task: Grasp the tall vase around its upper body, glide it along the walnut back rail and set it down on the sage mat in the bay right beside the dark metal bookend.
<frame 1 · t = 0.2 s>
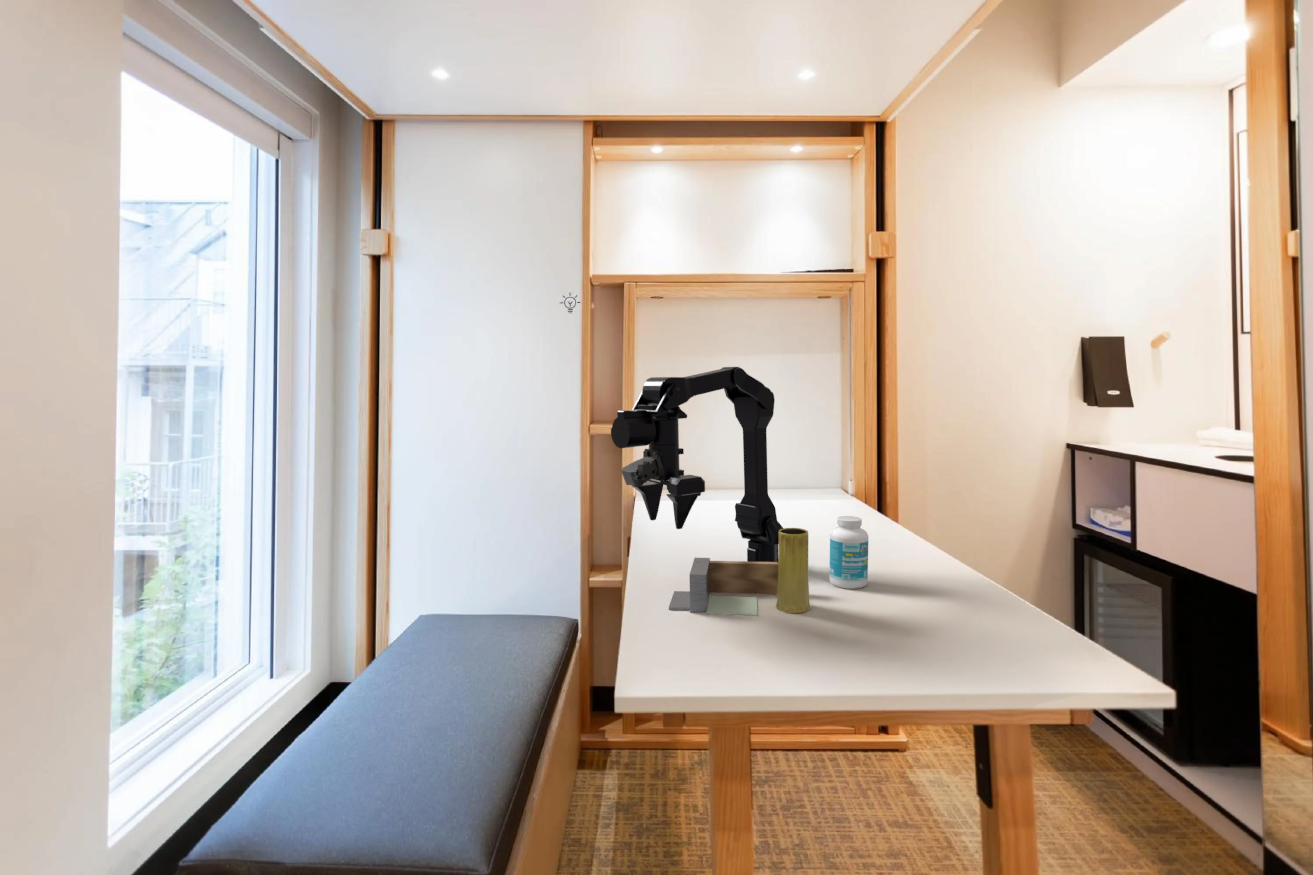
hand: (665, 524, 128), 14 cm above the table, fingers open, 9 cm apart
pill bottle: (848, 585, 134), on the table
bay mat: (732, 605, 123), on the table
bookend: (700, 602, 125), on the table
back rail: (747, 592, 130), on the table
vase: (793, 608, 121), on the table
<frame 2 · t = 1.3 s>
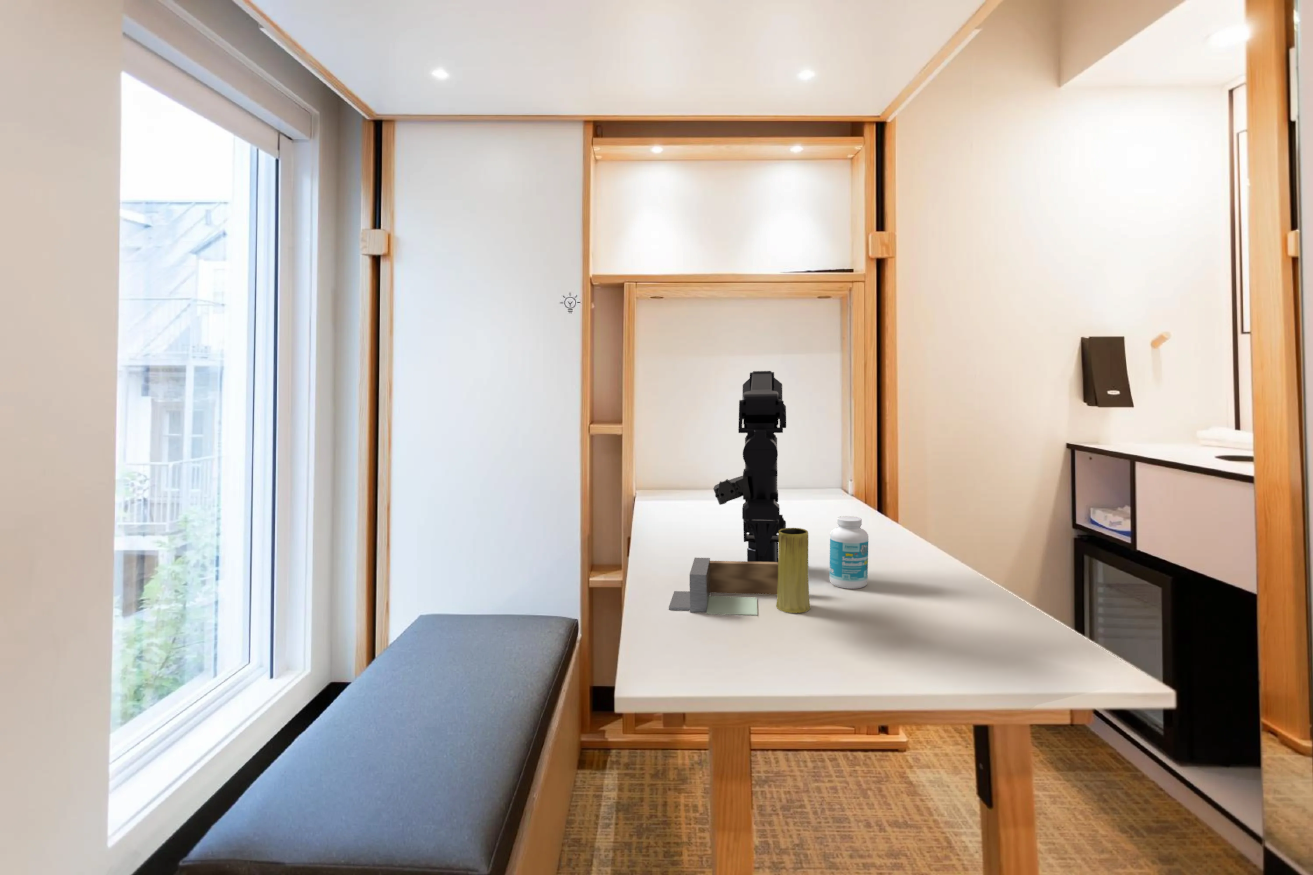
hand: (761, 548, 121), 11 cm above the table, fingers open, 9 cm apart
nothing on the table moved.
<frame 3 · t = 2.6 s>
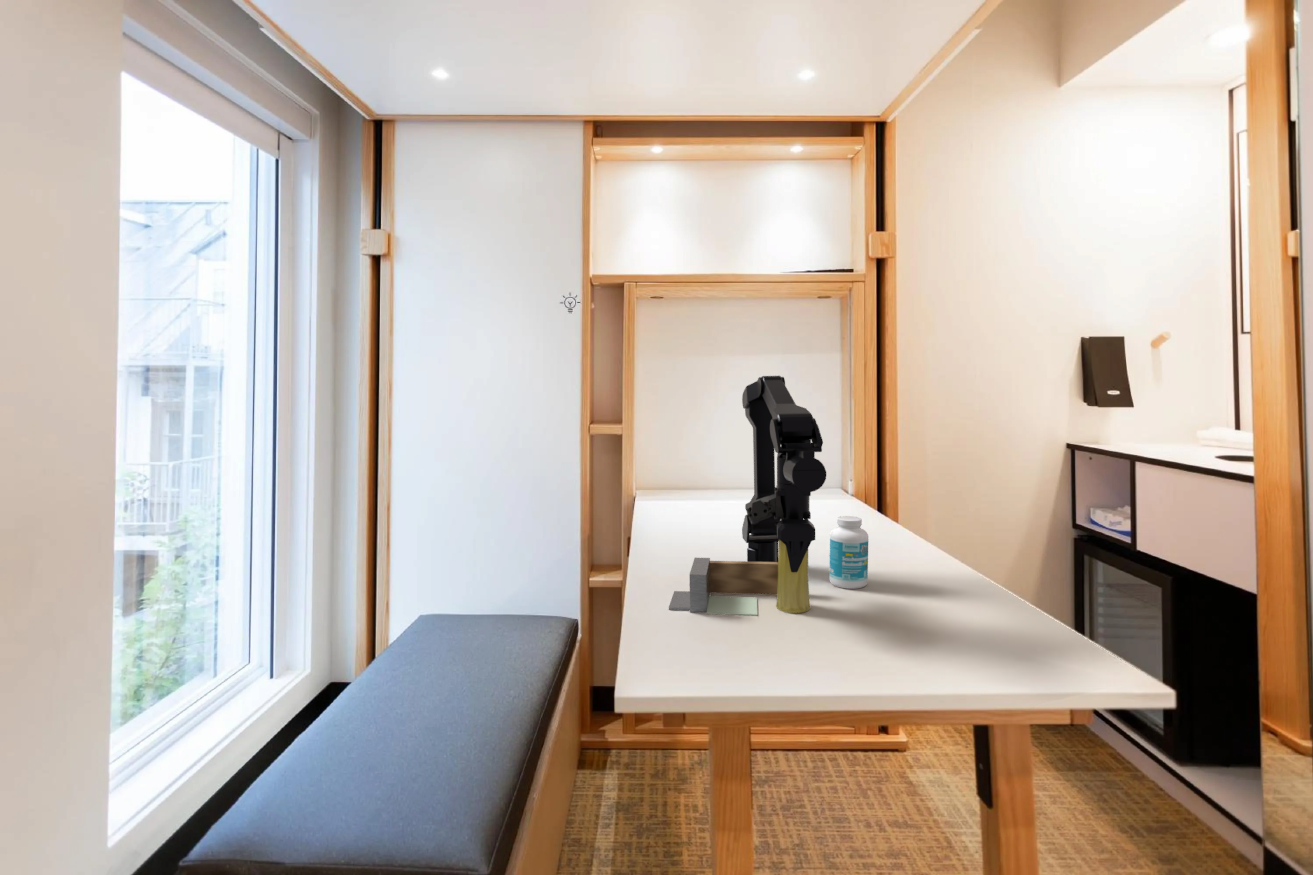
hand: (793, 567, 121), 8 cm above the table, fingers closed on vase, 5 cm apart
vase: (793, 608, 121), on the table, touching gripper
everything else where it was.
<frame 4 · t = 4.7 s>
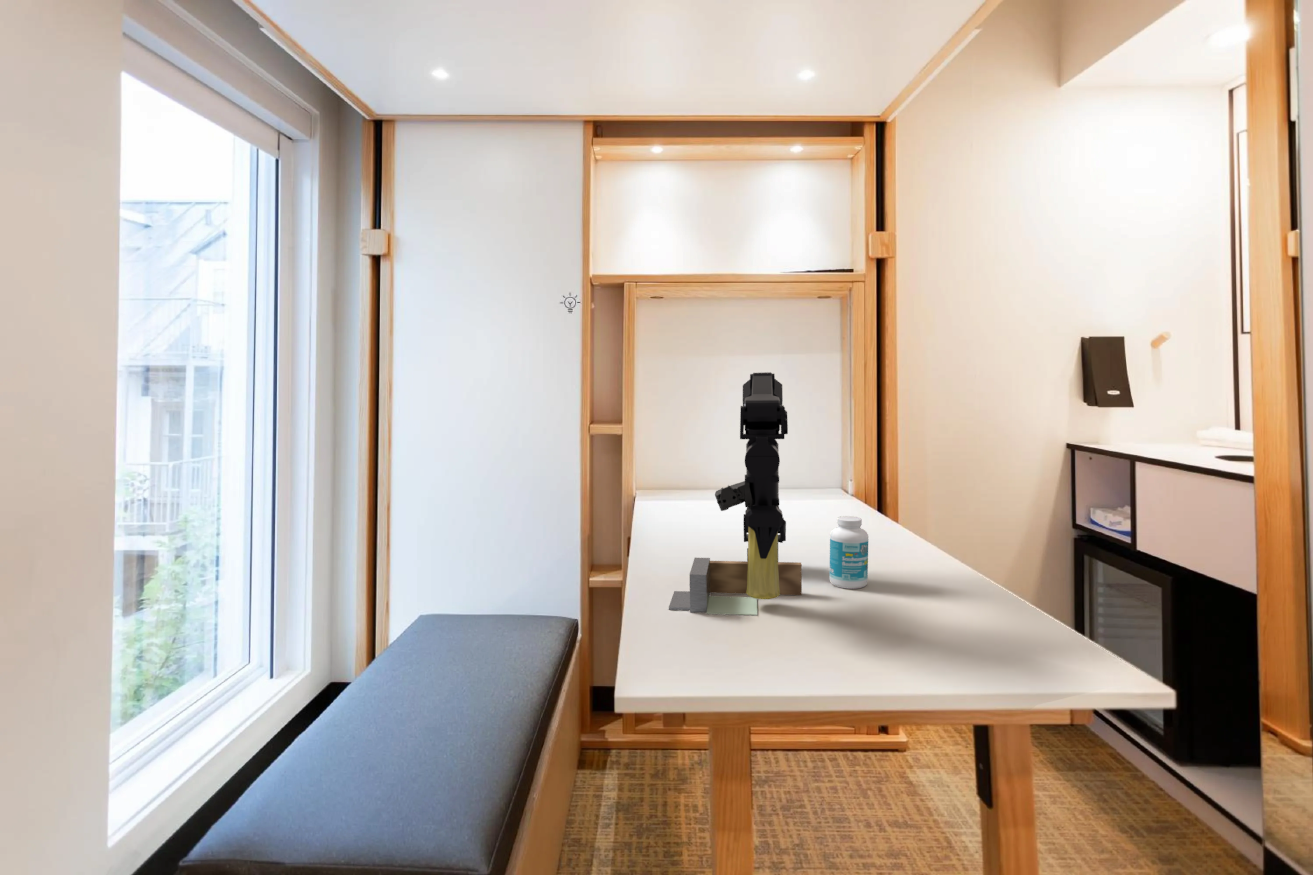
hand: (762, 553, 121), 10 cm above the table, fingers closed on vase, 5 cm apart
vase: (763, 595, 122), point 2 cm above the table, touching gripper
everything else where it was.
when the fingers open (8 cm above the table, at t = 6.5 s): vase stays where it is, resting on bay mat.
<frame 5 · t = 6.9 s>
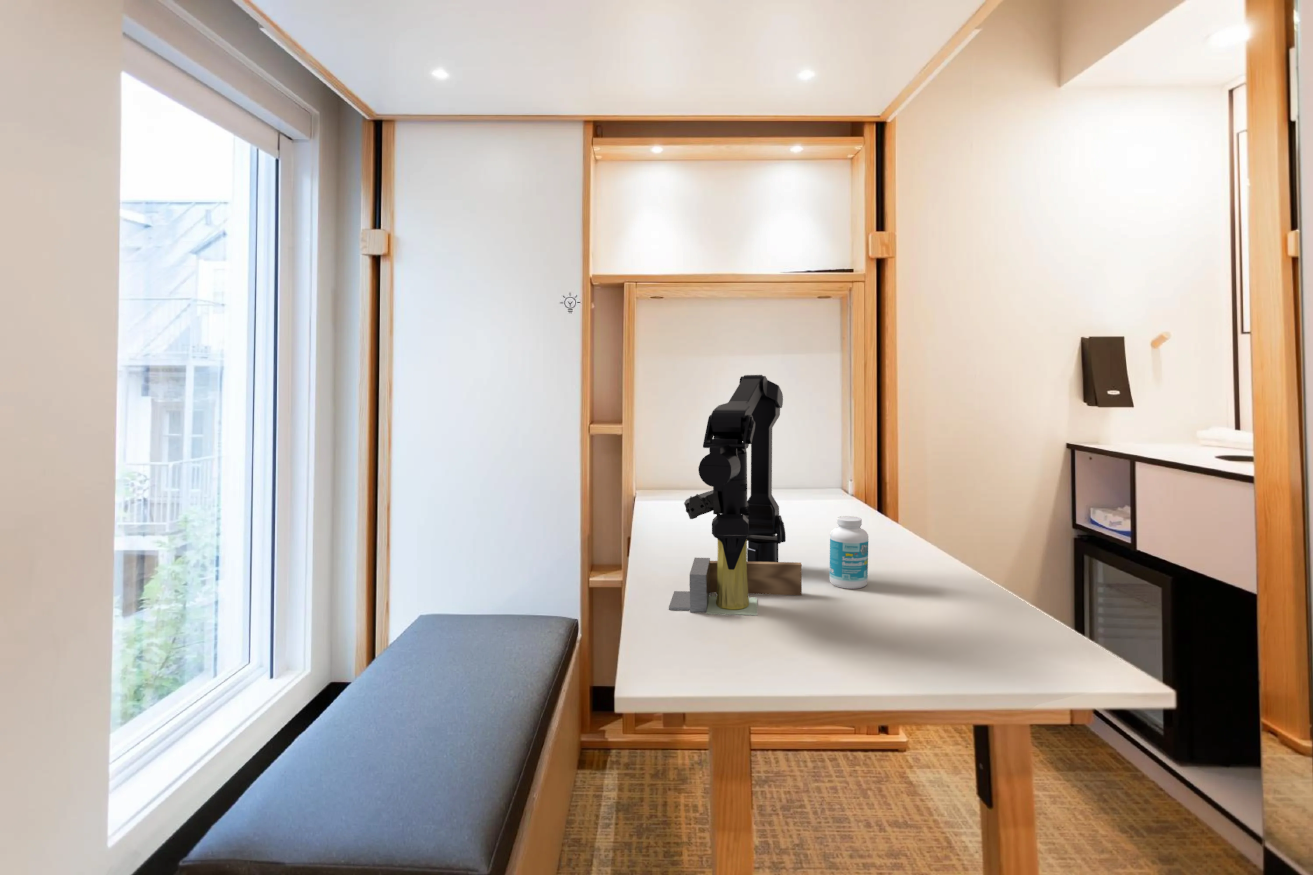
hand: (732, 561, 122), 8 cm above the table, fingers open, 9 cm apart
vase: (732, 605, 123), resting on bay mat
everything else where it was.
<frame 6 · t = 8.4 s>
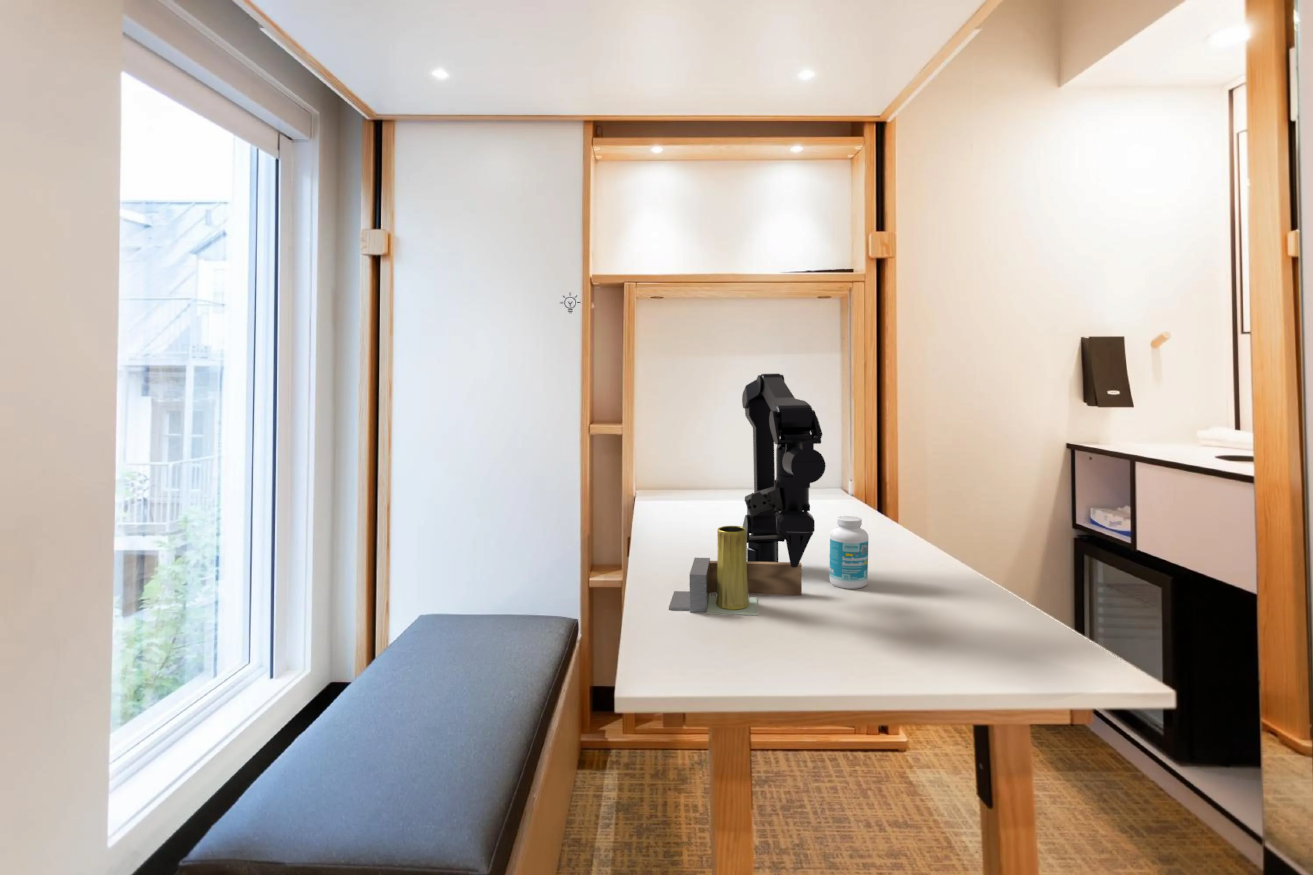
hand: (792, 559, 120), 9 cm above the table, fingers open, 9 cm apart
nothing on the table moved.
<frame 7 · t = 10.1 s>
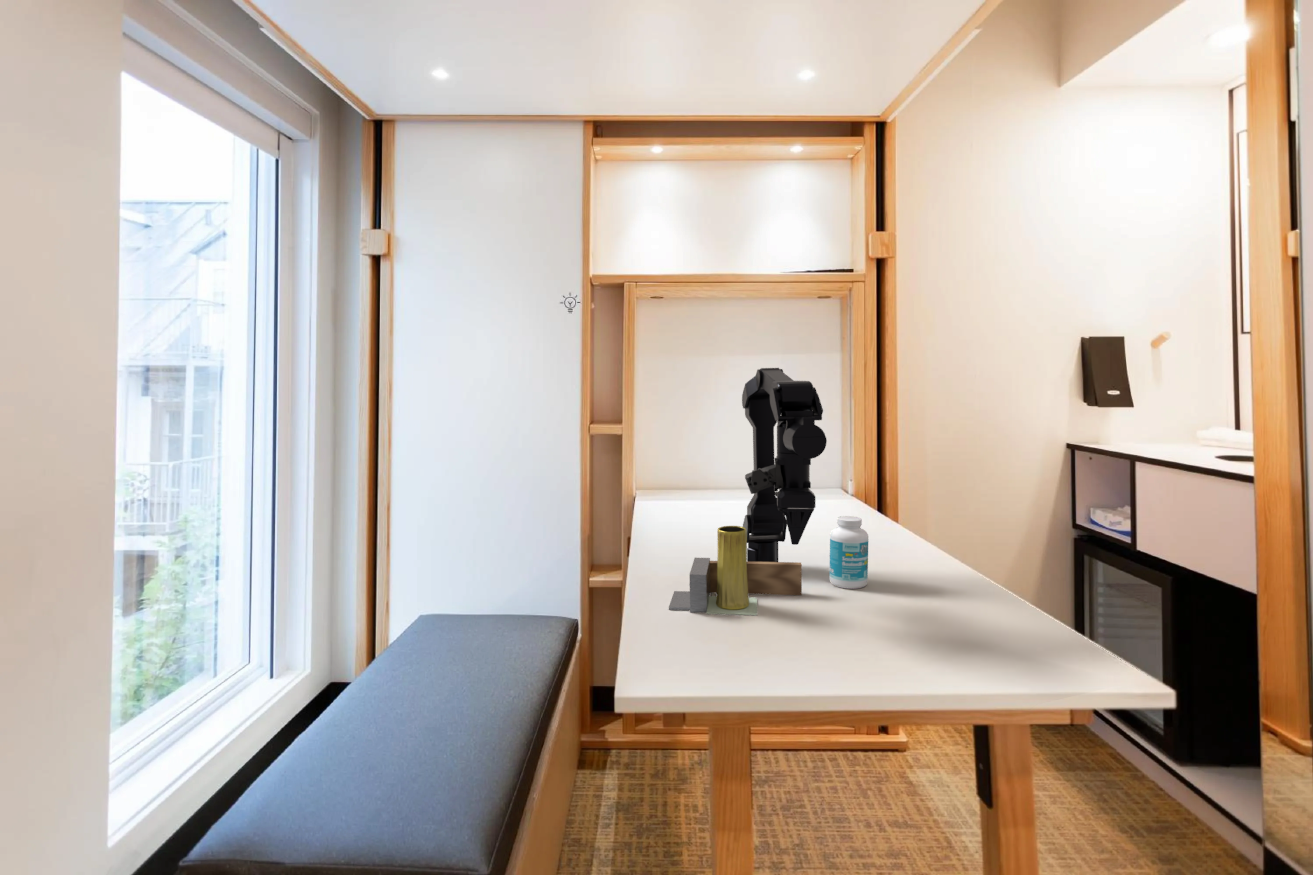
hand: (793, 537, 120), 13 cm above the table, fingers open, 9 cm apart
nothing on the table moved.
at the end: vase 0.2 cm from the target spot, resting on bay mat; vase tilted 0°; the gripper is holding nothing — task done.
